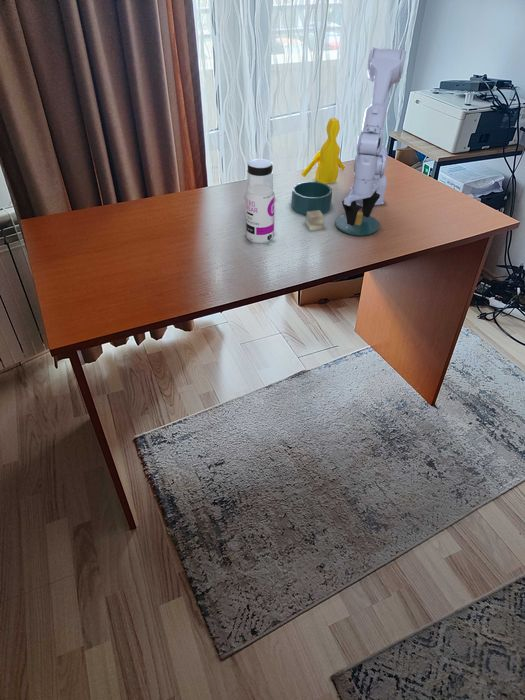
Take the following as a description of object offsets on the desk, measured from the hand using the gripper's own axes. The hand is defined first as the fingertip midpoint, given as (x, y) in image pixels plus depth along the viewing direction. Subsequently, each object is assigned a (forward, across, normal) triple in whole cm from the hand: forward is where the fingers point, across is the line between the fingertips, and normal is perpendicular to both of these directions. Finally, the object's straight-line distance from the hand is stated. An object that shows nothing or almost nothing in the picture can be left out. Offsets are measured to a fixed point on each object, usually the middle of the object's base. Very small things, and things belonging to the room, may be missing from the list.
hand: (358, 220), depth 146 cm
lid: (+2, 0, 0) cm, 2 cm away
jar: (+2, +8, -35) cm, 36 cm away
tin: (+2, 0, -19) cm, 19 cm away
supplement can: (+2, +27, -16) cm, 31 cm away
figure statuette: (+2, -18, -29) cm, 34 cm away
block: (+2, +10, -9) cm, 14 cm away
